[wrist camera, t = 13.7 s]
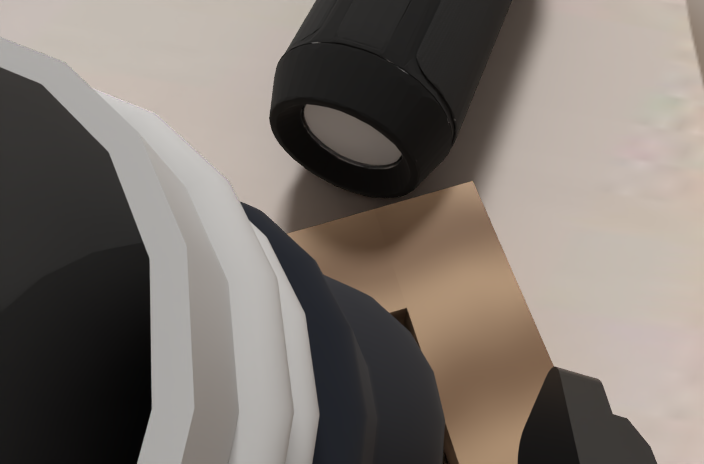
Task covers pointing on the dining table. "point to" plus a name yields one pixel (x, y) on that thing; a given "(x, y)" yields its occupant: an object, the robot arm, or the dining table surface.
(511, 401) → the walnut jig
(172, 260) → the black bottle
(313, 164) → the portable speaker
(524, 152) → the dining table surface
